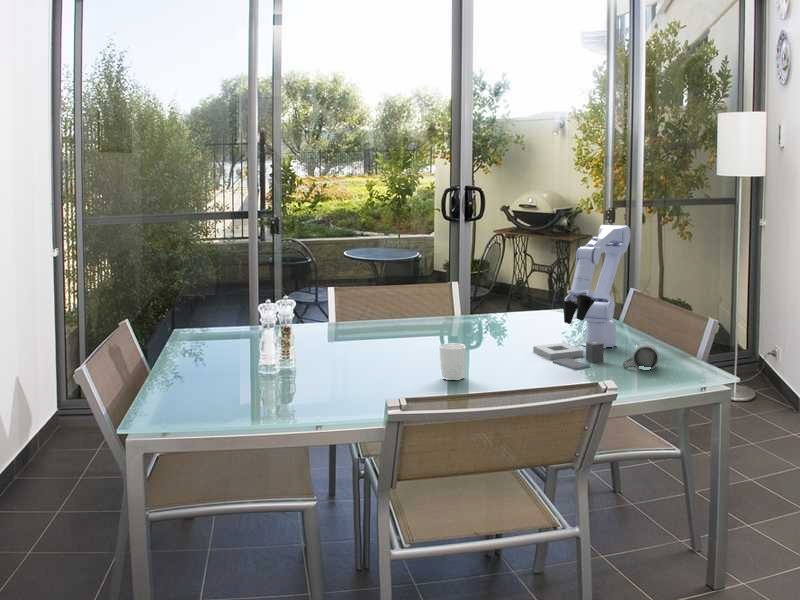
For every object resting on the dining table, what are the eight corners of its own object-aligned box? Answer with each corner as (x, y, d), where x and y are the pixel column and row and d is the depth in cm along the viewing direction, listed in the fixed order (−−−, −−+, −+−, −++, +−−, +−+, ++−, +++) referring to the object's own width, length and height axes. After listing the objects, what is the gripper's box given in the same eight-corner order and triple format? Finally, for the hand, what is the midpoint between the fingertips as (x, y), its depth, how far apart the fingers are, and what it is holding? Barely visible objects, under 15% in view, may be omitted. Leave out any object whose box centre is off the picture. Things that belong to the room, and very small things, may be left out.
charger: (596, 359, 301) (597, 340, 300) (603, 362, 298) (603, 343, 297) (585, 360, 300) (586, 341, 299) (592, 363, 296) (592, 344, 295)
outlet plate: (565, 348, 317) (565, 342, 316) (583, 356, 306) (583, 350, 305) (533, 351, 313) (533, 346, 313) (550, 360, 302) (550, 353, 301)
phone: (567, 361, 301) (567, 357, 301) (589, 369, 292) (589, 364, 292) (552, 364, 299) (552, 360, 298) (574, 371, 289) (574, 367, 289)
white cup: (438, 375, 286) (438, 343, 284) (464, 374, 287) (463, 342, 285) (441, 382, 278) (441, 349, 277) (468, 381, 279) (467, 348, 277)
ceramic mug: (657, 364, 293) (657, 340, 291) (658, 371, 285) (658, 346, 284) (622, 364, 295) (622, 340, 294) (622, 370, 288) (622, 346, 286)
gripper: (560, 281, 308) (551, 320, 304) (583, 273, 294) (574, 313, 291) (578, 288, 310) (569, 327, 306) (602, 280, 296) (594, 321, 293)
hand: (573, 321), depth 298 cm, fingers open, 7 cm apart
